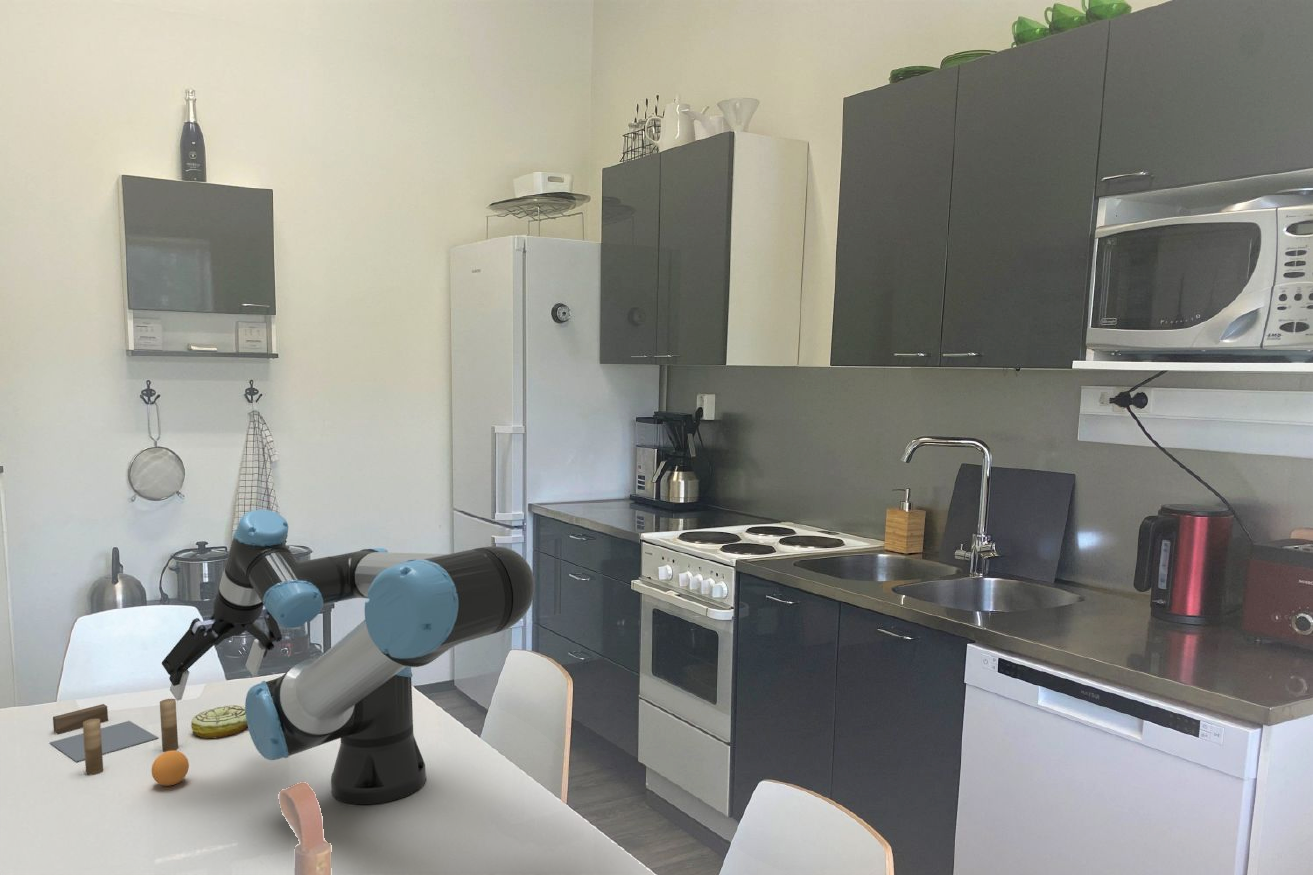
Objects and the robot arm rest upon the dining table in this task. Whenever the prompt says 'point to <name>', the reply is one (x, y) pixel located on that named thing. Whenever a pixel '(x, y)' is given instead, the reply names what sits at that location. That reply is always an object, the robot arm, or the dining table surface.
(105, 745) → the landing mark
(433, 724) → the dining table surface
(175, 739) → the right post
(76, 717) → the stopper wall
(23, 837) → the dining table surface
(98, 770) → the left post
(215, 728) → the decorated donut
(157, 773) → the ball
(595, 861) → the dining table surface
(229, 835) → the dining table surface
